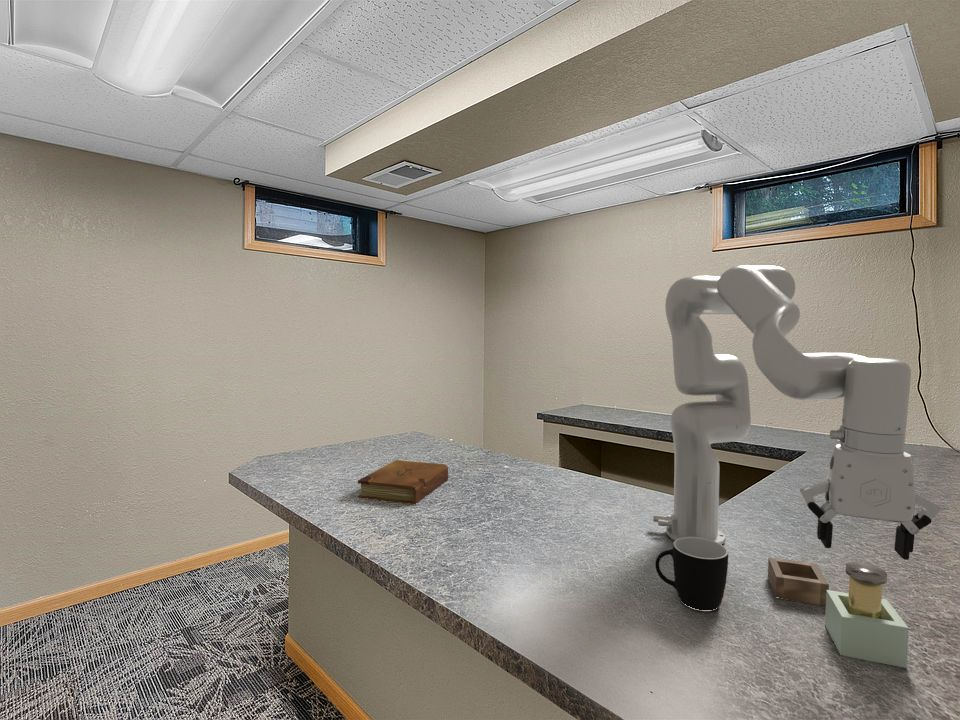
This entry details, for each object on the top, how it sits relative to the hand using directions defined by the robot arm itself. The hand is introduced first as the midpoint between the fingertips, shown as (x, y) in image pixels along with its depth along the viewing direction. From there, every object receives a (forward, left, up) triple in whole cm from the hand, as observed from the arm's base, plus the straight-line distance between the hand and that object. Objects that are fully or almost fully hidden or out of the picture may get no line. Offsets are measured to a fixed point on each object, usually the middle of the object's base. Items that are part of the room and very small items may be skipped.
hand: (862, 549), depth 77 cm
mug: (-24, +4, -15) cm, 29 cm away
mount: (-6, +14, -15) cm, 21 cm away
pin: (0, -1, -15) cm, 15 cm away
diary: (-103, +41, -16) cm, 112 cm away
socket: (0, -1, -15) cm, 15 cm away
